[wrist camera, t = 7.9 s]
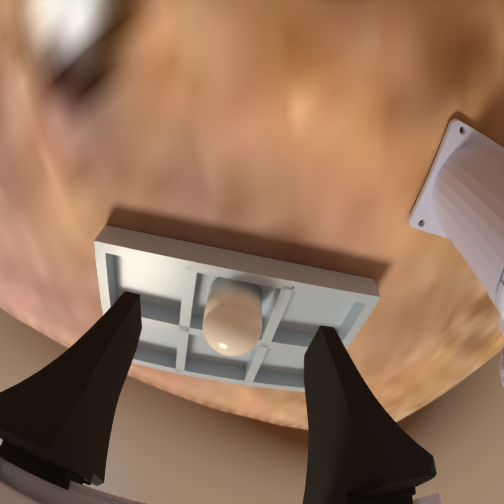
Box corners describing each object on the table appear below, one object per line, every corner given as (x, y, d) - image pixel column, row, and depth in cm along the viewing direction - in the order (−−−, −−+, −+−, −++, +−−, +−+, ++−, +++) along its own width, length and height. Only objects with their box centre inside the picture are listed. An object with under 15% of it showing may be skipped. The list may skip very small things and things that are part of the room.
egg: (263, 275, 22) (263, 332, 18) (261, 314, 24) (261, 368, 20) (206, 274, 22) (195, 329, 18) (210, 313, 24) (202, 365, 20)
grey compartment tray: (373, 279, 23) (380, 296, 21) (312, 376, 30) (313, 392, 29) (105, 225, 21) (94, 240, 19) (117, 341, 28) (111, 357, 27)
